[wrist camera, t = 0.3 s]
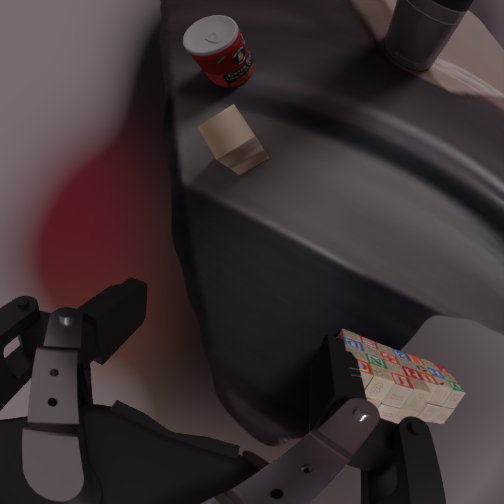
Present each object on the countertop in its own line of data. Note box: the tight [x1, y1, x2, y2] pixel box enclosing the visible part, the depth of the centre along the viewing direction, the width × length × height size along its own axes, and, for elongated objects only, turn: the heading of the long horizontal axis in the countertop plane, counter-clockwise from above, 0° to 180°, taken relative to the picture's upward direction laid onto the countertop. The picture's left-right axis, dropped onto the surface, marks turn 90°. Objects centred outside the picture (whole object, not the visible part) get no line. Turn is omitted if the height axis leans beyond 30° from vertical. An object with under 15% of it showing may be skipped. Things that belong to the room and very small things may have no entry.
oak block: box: [198, 104, 269, 175], centre depth 33 cm, size 5×5×10 cm
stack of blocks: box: [338, 329, 466, 424], centre depth 30 cm, size 21×6×12 cm, turn 69°
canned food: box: [183, 15, 254, 87], centre depth 32 cm, size 8×8×11 cm
